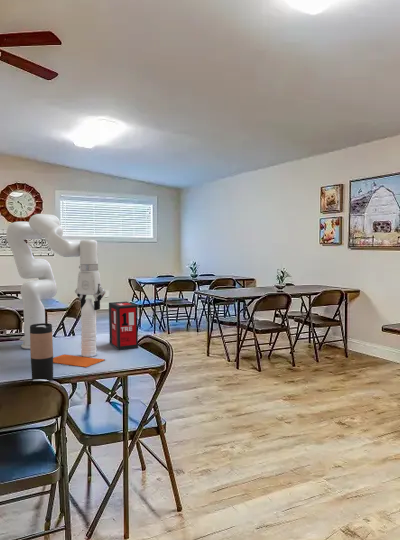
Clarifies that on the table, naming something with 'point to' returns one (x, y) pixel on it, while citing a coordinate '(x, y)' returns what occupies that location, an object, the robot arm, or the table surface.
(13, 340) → the table surface
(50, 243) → the robot arm
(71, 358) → the cloth
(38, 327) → the travel mug
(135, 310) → the cleaning product box
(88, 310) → the water bottle
